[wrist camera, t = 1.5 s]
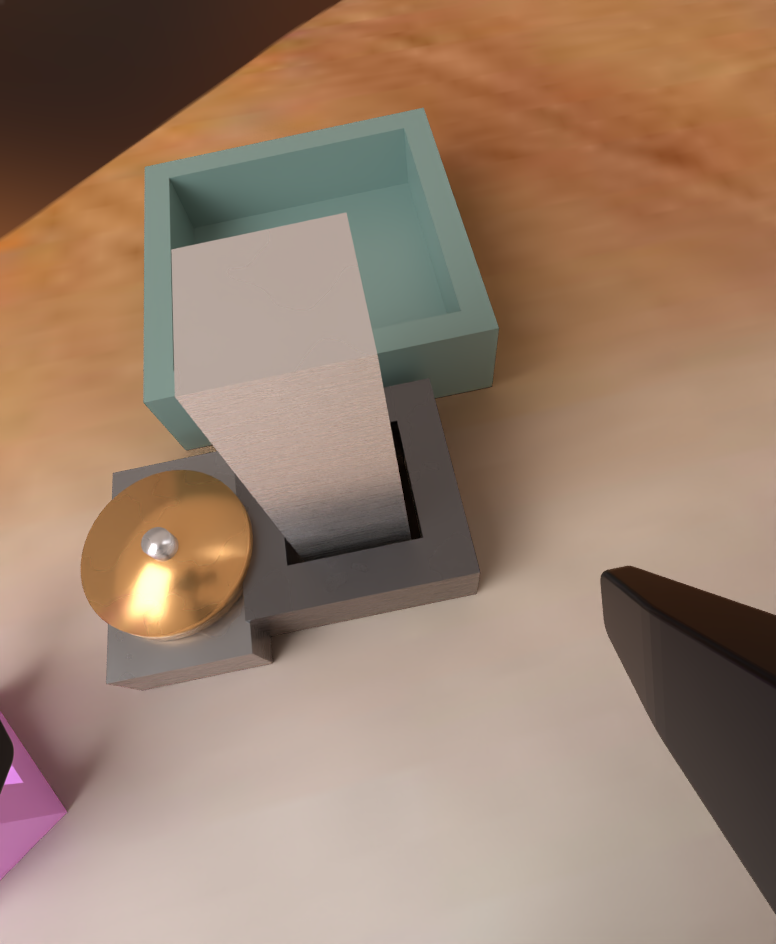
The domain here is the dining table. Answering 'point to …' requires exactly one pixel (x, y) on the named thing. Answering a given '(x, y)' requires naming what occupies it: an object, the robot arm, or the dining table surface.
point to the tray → (374, 238)
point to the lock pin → (291, 381)
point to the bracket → (24, 806)
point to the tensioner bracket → (258, 560)
